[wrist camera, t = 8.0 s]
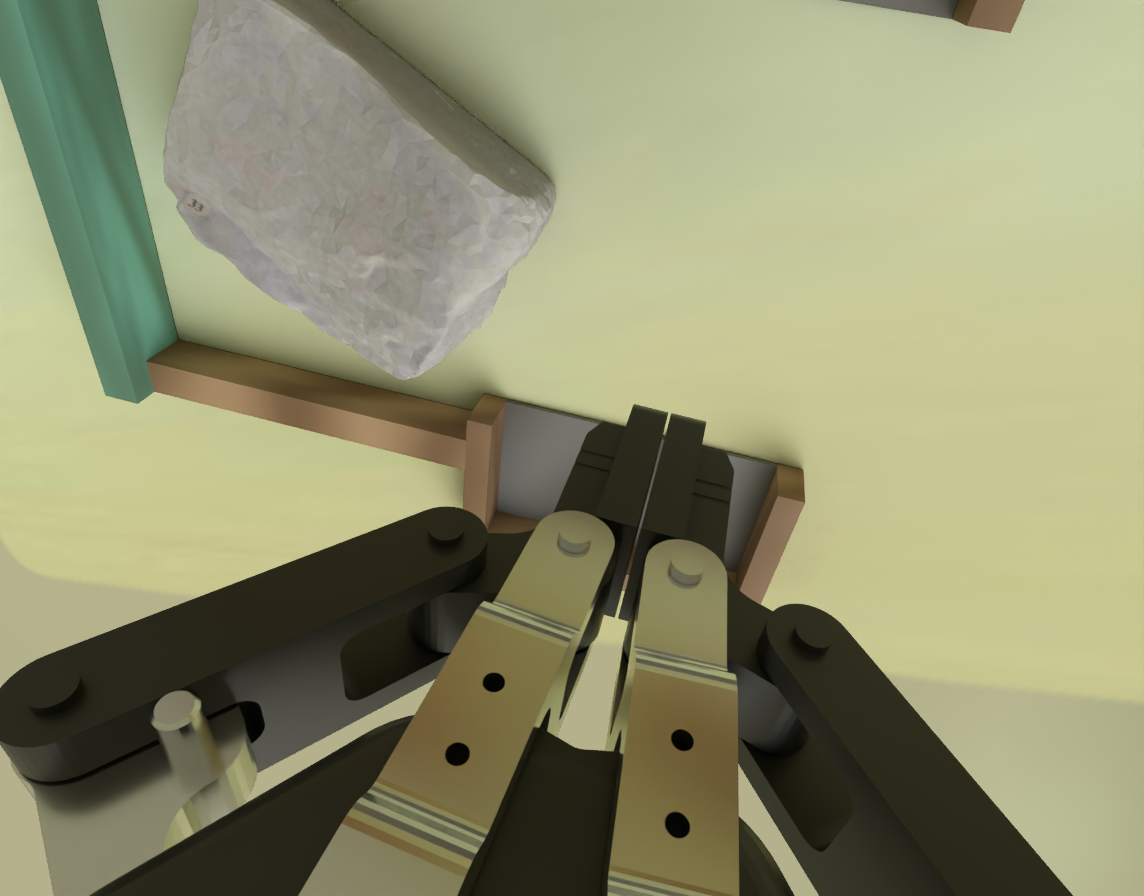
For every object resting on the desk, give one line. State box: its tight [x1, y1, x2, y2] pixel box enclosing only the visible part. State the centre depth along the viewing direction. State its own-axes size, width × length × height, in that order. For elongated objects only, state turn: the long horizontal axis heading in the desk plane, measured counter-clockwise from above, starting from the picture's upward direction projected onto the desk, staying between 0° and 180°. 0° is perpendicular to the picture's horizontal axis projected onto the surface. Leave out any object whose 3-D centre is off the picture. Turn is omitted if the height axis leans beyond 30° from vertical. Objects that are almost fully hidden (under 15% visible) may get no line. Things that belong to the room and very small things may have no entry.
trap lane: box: [0, 0, 1025, 604], centre depth 23 cm, size 28×29×3 cm
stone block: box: [163, 0, 556, 380], centre depth 24 cm, size 12×5×10 cm
